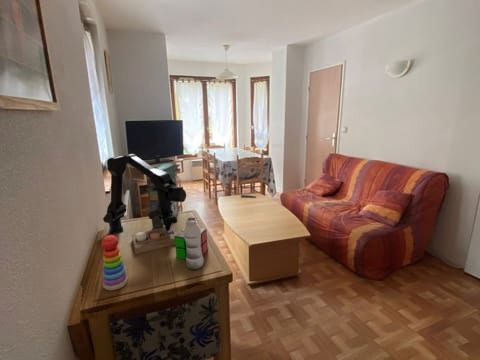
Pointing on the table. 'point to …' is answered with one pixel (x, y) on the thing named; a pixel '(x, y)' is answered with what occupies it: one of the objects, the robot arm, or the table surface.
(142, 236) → the cream button
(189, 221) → the plastic bottle
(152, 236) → the terracotta button
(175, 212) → the cake mix box
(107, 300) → the table surface
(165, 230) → the charcoal button
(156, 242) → the panel
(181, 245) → the puzzle cube
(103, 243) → the stacking toy
